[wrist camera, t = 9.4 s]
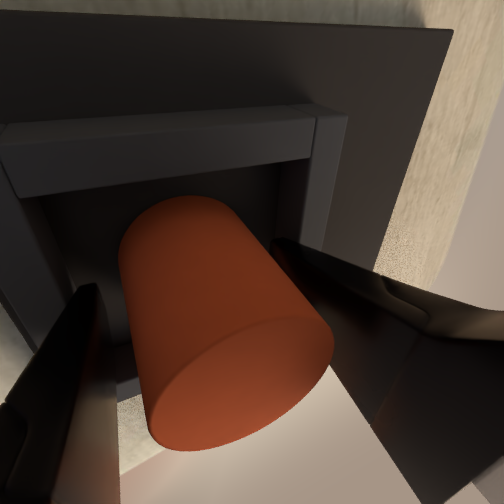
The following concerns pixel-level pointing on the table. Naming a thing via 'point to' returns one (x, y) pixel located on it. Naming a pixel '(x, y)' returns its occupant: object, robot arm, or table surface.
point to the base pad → (194, 142)
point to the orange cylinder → (214, 325)
